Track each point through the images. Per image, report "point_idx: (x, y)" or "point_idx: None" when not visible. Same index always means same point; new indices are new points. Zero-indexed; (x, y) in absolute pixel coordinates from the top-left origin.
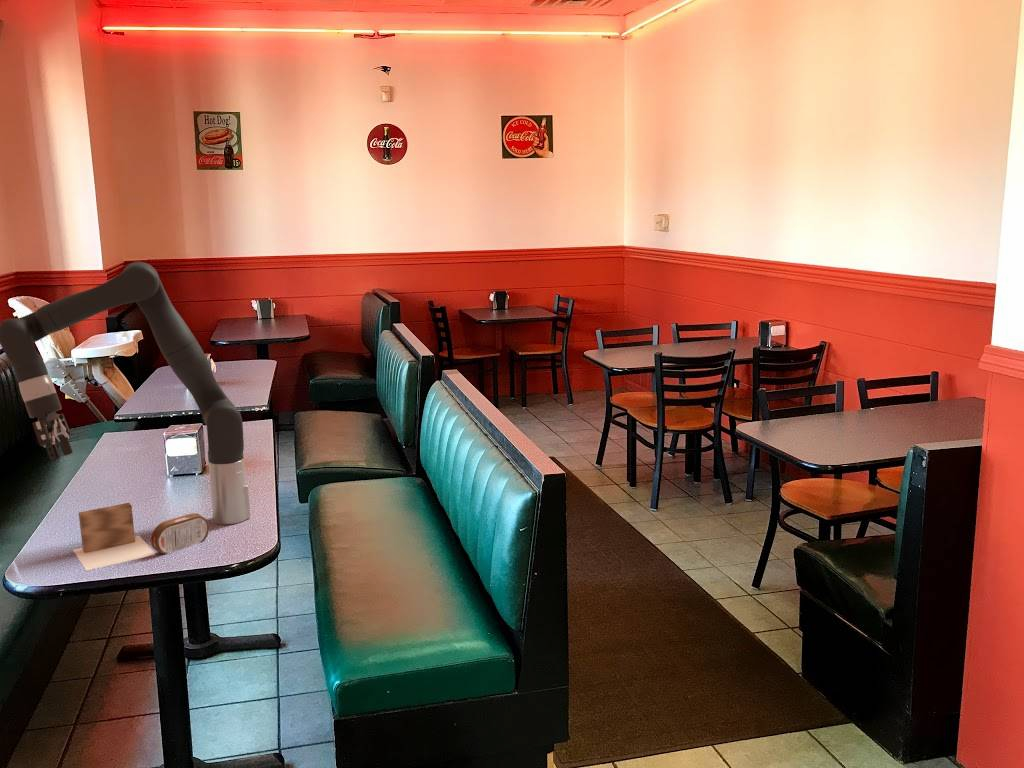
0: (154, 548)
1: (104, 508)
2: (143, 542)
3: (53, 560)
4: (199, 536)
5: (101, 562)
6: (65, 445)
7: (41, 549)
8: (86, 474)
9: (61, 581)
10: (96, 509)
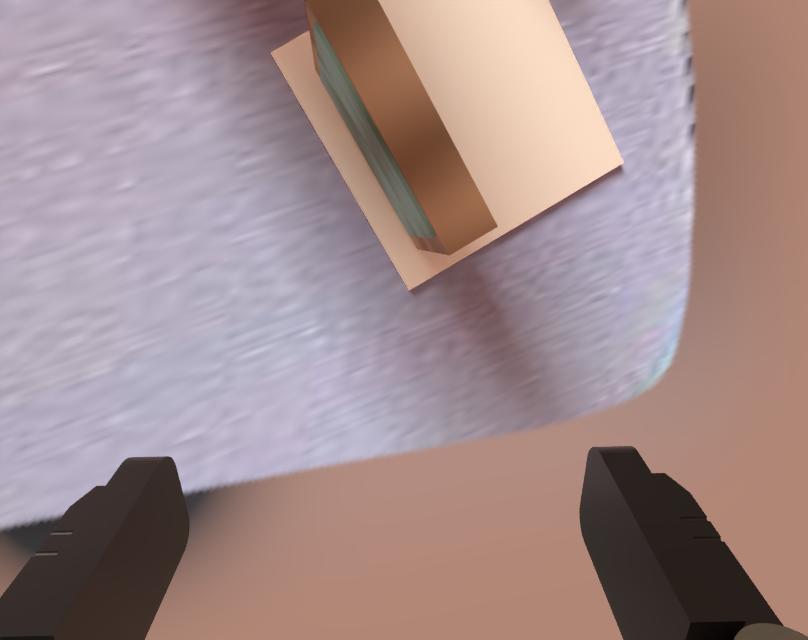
0: None
1: (397, 124)
2: None
3: (482, 331)
4: None
5: (557, 127)
6: (120, 596)
7: (365, 421)
8: None
9: (676, 227)
10: (409, 167)
